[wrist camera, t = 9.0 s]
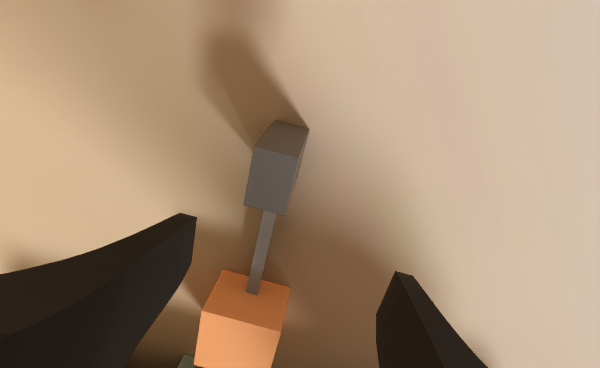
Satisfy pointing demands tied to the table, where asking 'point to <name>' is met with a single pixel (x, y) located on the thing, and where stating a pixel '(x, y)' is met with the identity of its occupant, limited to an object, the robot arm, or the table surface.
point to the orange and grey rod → (254, 265)
